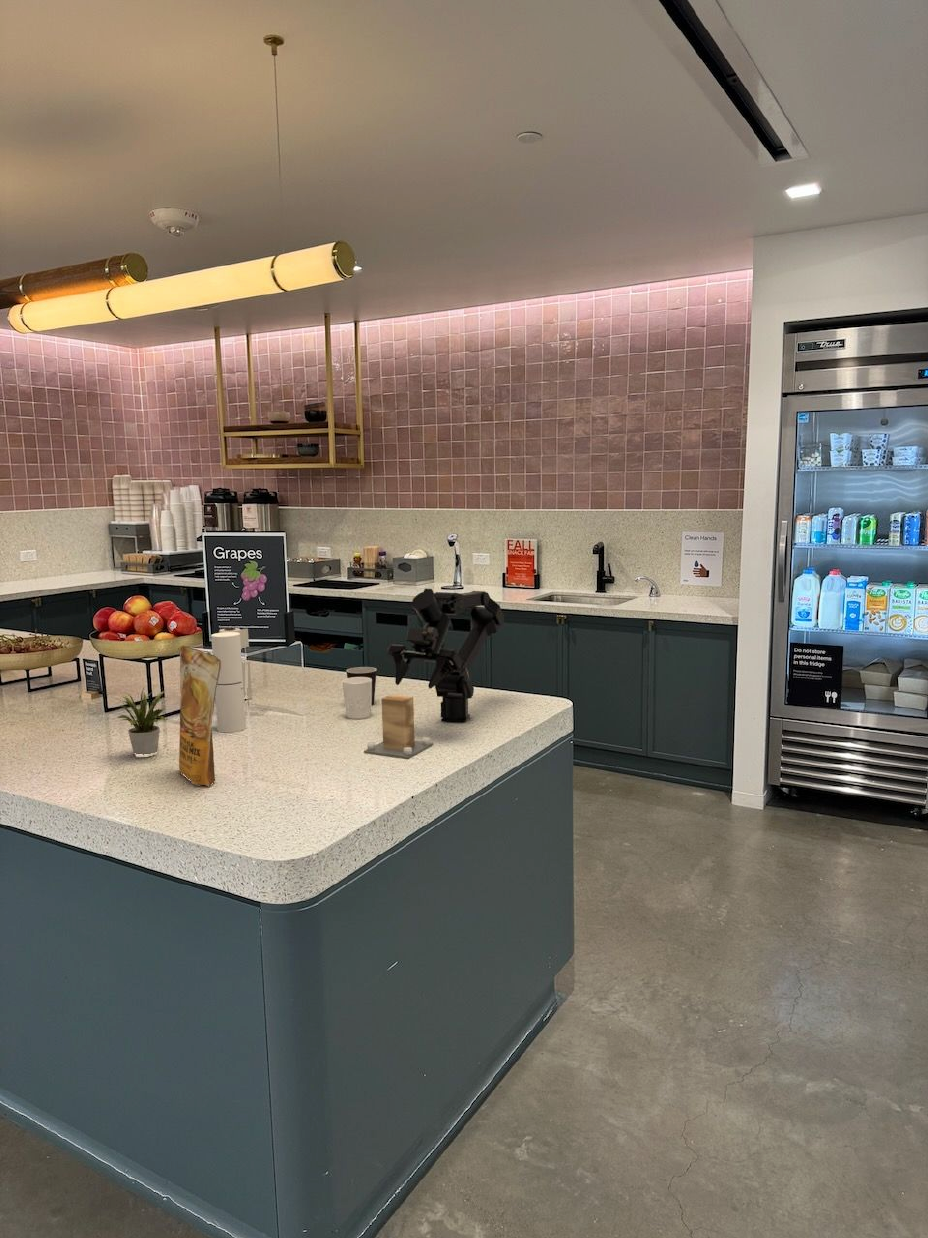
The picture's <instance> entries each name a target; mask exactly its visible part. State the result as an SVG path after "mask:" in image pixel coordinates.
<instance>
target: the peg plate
mask: <svg viewBox="0 0 928 1238" xmlns="http://www.w3.org/2000/svg"><path fill="white" fill-rule="evenodd" d="M434 744H435V743H434V742H431V738H430V737H429V736H428V737H427V736H424V737H422V739H421V740H415V746H413V747H412V748H411V747H405V748H404V751H402V750H395V749H387V748H383V741H381V742H379V743H377V744H376V742H374V741H369V742H367V744H366V745H367V747H366V748H367V749H365V750H364V751H363V753H364V754H368V753H370V754H369V755H375V754H376V756H377V755H378V756H383V755H384V756H383V757H392V758H396V759H397V758H399V759H406V760H409V759H410V758H411V759H412V758H413V757H414V756H416V755H418V754H419V753H422V752H424V751H426V750H427V749H429V748H431V747H432V745H433V746H434ZM430 746H431V747H430ZM423 750H424V751H423Z"/></svg>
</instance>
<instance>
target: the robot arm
mask: <svg viewBox="0 0 928 1238" xmlns="http://www.w3.org/2000/svg"><path fill="white" fill-rule="evenodd" d="M411 605H412V607H413V609H414V610H415V612H416V614H417V615H418V617H419V618H420V620H421V621H422V622H424V623H425V625H424V627H423V628H418V627H408V628H407V632H406V638H405V641H406V642H410V644H411V645H410V646H411V648H412V649H414V651H413V650H408V648H407V647H406V645H403V644H393V643H392V644H390V645H389V647H388V649H387V651H386V653H387V656H389V658H390V659H391V661H392V662H393V664H394V665H395V678H394V682H395V685H396V686H399V685H400V684H401V683H402V681H403V680H404V677H405V676H406V674H407V672H408V670H409V668H410V666H409V665H410V664H411V661H412V660H416V661H424V662H430V663H431V662H433V663H435V667H434V669H433V672H432V673H431V677H430V679H429V681H428V682H429V683H428V688H429V689H432V688H434V689H435V692H436V696H437V698H439V697H441V700H442V701H441V702H440V718H441V719H440V720H441V722H448V723H449V722H452V723H465V722H467V720H468V719H469V718H470V717H471V715H470V714H469V699H472V698H473V696H474V693H475V692H474V690H475V689H474V685H473V684H472V683H471V680H470V676H469V671H470V669H471V667H472V665H473V664H474V662H475V661H476V658H477V657H478V655H479V652H480V651H481V649H482V647H483V646H484V644H485V642H486V640H487V639H488V638H489V637H490V636H493V635H494V634H496V633H497V632H498V631H499V630H500V629H501V628H502V625H503V624H504V622H505V615H504V613H503V610H502V609H501V606H500V605H499V604H498V602H496V601H495V600H494V599H493V598H491V596H490V594H489V593H488V592H487V591H483V590H472V591H469V592H462V593H459V592H446V591H444V592H443V591H440V592H439V591H436V592H435V591H434V590H433V589H432V588H424V590H423V591H422V592H419V593H418V594H416V595H415V596H414V597H413V598H412V601H411ZM464 609H469V611H468V615H469V617H470V621H471V625H472V627H471V629H470V631H469V633H468V635H467V636H466V638H465V639H464V641H463V643H462V644H461V646H460V648H459V649H458V651H457V650H456V649H453V648H445V646H446V644H445V642H444V640H445V637H446V635H447V633H448V630H449V631H450V630H452V631H453V629H454V625H453V624H452V621H451V620H452V619H451V618H450V617H449V616H458V615H459V614H461V613H463V612H464Z"/></svg>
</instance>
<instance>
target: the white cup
mask: <svg viewBox="0 0 928 1238" xmlns="http://www.w3.org/2000/svg"><path fill="white" fill-rule="evenodd" d="M342 687H343V698H344V699H343V700H344V707H345V714H346V715H345V716H346V718H347V719H352V720H362V719H367V718H370V717H371V716H372V706H373V705H372V679H371V678H368V677H352V678H345V679H343V680H342Z"/></svg>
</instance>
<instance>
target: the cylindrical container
mask: <svg viewBox="0 0 928 1238" xmlns="http://www.w3.org/2000/svg"><path fill="white" fill-rule="evenodd" d="M210 639H211V648H212V649H211V651H212V655H214V656H216V657H217V658H218V659H219V660H220V661H221V669H220V674H219V679H218V683H217V687H216V694H215V711H216V728H217V732H219V733H222V732H223V733H224V732H225V733H224V734H227V733H228V734H230V733H239V732H241V731H244V730H245V729H246V728H247V727H246V723H247V722H246V710H245V707H246V706H245V700H244V691H243V674H242V658H241V641H240V633H238V632H222V633H219V632H217V633H213V634H211V638H210Z"/></svg>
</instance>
